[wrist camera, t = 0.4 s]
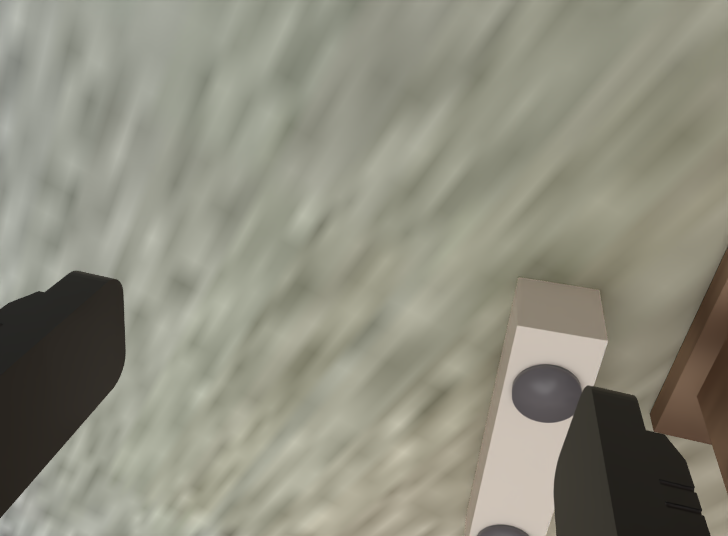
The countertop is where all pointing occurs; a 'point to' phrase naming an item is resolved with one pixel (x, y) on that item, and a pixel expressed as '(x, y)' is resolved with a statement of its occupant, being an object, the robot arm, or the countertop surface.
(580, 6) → the countertop surface
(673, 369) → the stand
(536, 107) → the countertop surface
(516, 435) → the frame bar
